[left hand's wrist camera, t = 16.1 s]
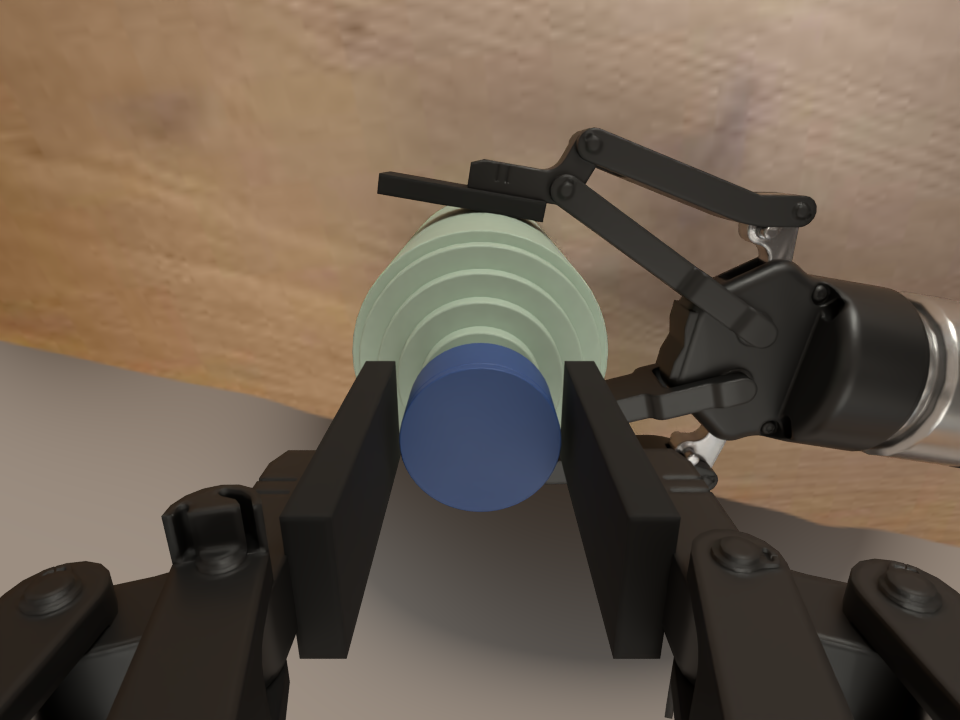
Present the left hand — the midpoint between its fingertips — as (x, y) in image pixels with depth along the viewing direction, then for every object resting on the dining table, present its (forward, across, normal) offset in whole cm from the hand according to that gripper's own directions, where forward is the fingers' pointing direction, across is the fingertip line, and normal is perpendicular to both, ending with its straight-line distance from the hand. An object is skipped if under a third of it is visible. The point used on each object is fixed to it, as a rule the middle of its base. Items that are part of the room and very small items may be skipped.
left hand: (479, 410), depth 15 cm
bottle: (+17, 0, 0) cm, 17 cm away
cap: (-2, 0, 0) cm, 2 cm away
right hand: (+10, -5, +1) cm, 11 cm away
